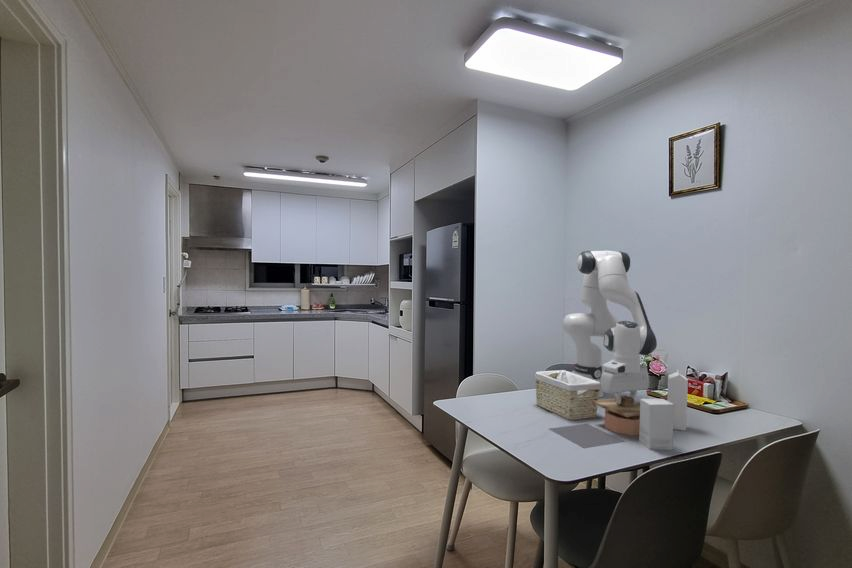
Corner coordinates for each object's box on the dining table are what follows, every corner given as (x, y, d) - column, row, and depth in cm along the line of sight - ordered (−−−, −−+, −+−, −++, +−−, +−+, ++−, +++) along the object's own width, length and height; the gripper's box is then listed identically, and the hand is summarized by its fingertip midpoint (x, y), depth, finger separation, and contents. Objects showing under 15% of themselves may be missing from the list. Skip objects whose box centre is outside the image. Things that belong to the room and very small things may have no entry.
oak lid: (592, 403, 159) (592, 393, 158) (623, 400, 164) (624, 390, 164) (626, 417, 144) (626, 405, 144) (659, 412, 150) (660, 401, 150)
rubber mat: (548, 430, 151) (548, 428, 151) (586, 425, 158) (587, 423, 158) (583, 450, 135) (583, 448, 135) (625, 443, 141) (625, 441, 141)
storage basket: (532, 404, 183) (533, 370, 183) (562, 401, 188) (563, 368, 188) (568, 422, 160) (569, 384, 160) (601, 418, 166) (603, 382, 166)
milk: (667, 428, 157) (669, 370, 157) (666, 423, 163) (668, 367, 162) (686, 431, 155) (688, 372, 154) (684, 426, 160) (686, 368, 160)
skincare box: (661, 443, 142) (663, 398, 142) (673, 451, 135) (675, 404, 135) (637, 443, 142) (639, 397, 141) (648, 451, 135) (650, 403, 135)
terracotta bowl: (596, 425, 158) (597, 409, 158) (622, 421, 163) (623, 406, 163) (625, 438, 146) (625, 421, 146) (652, 434, 151) (652, 417, 151)
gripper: (639, 362, 161) (638, 398, 161) (598, 365, 153) (597, 402, 153) (654, 365, 155) (652, 402, 155) (612, 368, 147) (610, 407, 147)
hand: (625, 402), depth 154 cm, fingers closed on oak lid, 4 cm apart
